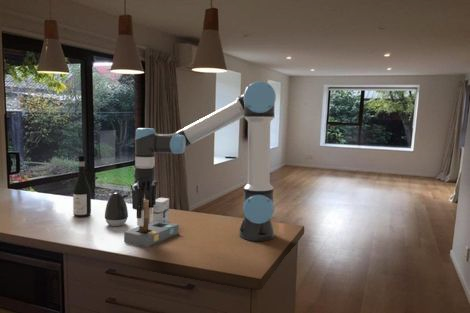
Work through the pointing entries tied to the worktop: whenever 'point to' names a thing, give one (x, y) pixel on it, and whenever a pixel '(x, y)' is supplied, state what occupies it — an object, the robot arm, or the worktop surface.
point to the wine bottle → (81, 192)
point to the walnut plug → (145, 217)
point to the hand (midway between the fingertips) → (144, 224)
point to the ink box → (161, 210)
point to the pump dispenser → (116, 210)
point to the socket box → (151, 233)
